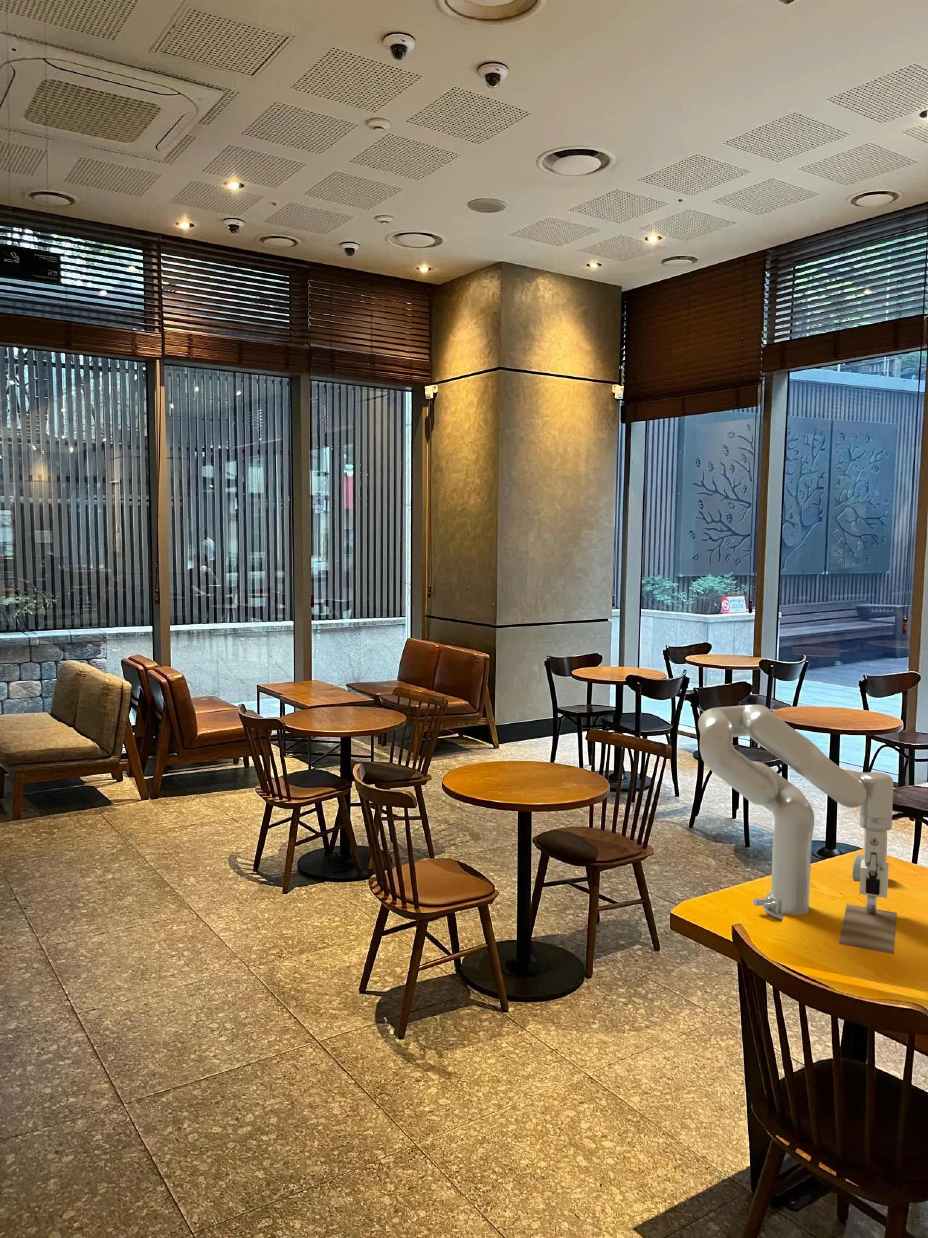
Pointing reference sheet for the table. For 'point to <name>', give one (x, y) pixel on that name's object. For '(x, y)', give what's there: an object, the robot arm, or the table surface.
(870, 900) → the metal stub
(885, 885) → the cream housing
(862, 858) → the ceramic mug
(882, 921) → the walnut board
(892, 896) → the table surface
